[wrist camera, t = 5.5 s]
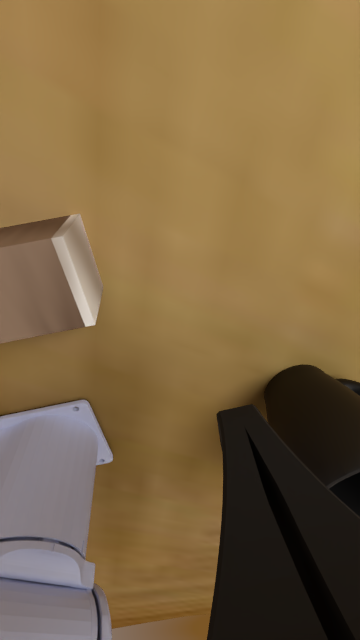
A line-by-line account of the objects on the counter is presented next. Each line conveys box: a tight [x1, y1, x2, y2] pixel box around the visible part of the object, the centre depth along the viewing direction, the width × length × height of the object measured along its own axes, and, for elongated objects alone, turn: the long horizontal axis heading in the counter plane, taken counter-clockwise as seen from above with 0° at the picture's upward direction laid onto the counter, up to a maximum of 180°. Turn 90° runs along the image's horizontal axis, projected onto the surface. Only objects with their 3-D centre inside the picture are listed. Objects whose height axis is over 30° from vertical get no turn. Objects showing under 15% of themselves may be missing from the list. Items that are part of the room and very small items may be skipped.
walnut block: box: [0, 214, 103, 343], centre depth 15 cm, size 4×4×9 cm
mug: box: [264, 365, 360, 517], centre depth 22 cm, size 8×12×10 cm
